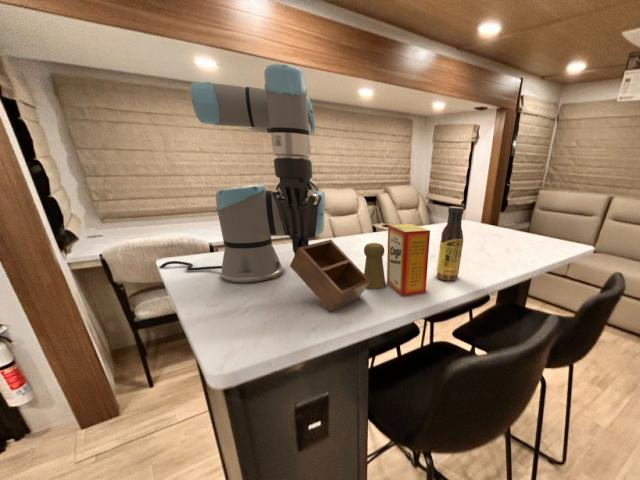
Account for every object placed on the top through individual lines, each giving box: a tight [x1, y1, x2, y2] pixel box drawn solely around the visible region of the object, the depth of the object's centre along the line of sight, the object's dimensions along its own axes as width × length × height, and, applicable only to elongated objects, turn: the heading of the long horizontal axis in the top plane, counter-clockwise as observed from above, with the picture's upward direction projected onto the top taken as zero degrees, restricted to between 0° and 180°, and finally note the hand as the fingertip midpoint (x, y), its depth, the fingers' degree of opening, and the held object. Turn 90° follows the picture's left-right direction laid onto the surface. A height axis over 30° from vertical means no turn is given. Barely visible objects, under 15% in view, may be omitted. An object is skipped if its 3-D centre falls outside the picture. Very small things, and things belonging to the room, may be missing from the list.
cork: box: [363, 242, 386, 290], centre depth 80 cm, size 6×6×11 cm
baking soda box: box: [386, 223, 431, 297], centre depth 78 cm, size 10×6×16 cm
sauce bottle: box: [436, 206, 465, 282], centre depth 85 cm, size 6×6×20 cm
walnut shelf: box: [289, 239, 370, 312], centre depth 69 cm, size 14×10×6 cm
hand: (302, 266), depth 73 cm, fingers closed
